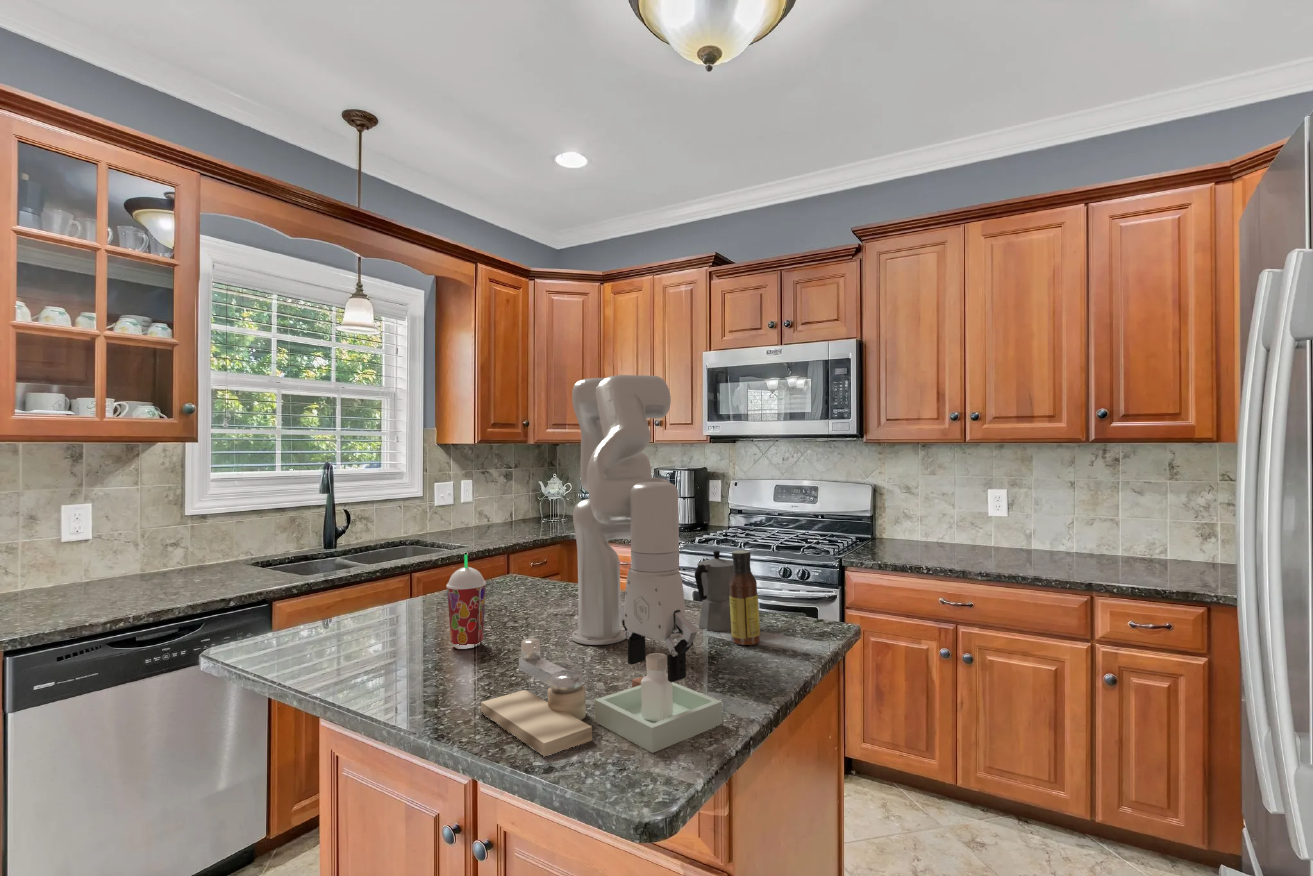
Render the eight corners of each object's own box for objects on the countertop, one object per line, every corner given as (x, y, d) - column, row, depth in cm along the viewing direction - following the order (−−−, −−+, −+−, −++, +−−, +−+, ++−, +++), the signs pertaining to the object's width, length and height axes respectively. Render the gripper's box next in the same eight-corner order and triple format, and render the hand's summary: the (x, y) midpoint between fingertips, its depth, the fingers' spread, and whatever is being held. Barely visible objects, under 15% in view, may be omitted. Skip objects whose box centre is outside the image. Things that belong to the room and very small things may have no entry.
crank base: (481, 714, 105) (480, 687, 105) (614, 675, 123) (613, 652, 123) (544, 757, 90) (543, 726, 90) (686, 706, 107) (685, 679, 107)
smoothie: (494, 642, 145) (492, 552, 146) (472, 653, 137) (470, 558, 138) (462, 639, 148) (461, 551, 148) (439, 650, 140) (437, 557, 140)
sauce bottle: (759, 638, 145) (757, 549, 145) (761, 647, 138) (759, 553, 139) (729, 638, 145) (728, 549, 146) (730, 646, 139) (728, 553, 139)
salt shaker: (640, 720, 100) (639, 658, 100) (651, 710, 104) (650, 650, 104) (663, 724, 98) (662, 661, 98) (674, 714, 102) (673, 653, 102)
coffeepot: (716, 617, 163) (715, 545, 164) (749, 623, 157) (747, 548, 158) (680, 631, 151) (679, 554, 151) (714, 638, 145) (712, 557, 146)
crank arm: (588, 688, 104) (587, 656, 104) (561, 696, 101) (561, 663, 101) (539, 664, 116) (538, 636, 116) (513, 671, 113) (513, 642, 113)
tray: (595, 722, 102) (594, 699, 102) (662, 698, 111) (662, 678, 111) (652, 753, 91) (651, 727, 91) (722, 724, 100) (721, 701, 100)
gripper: (603, 557, 106) (604, 662, 106) (673, 574, 92) (675, 693, 92) (639, 551, 110) (640, 651, 111) (711, 566, 97) (712, 680, 97)
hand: (656, 670), depth 102 cm, fingers open, 9 cm apart
